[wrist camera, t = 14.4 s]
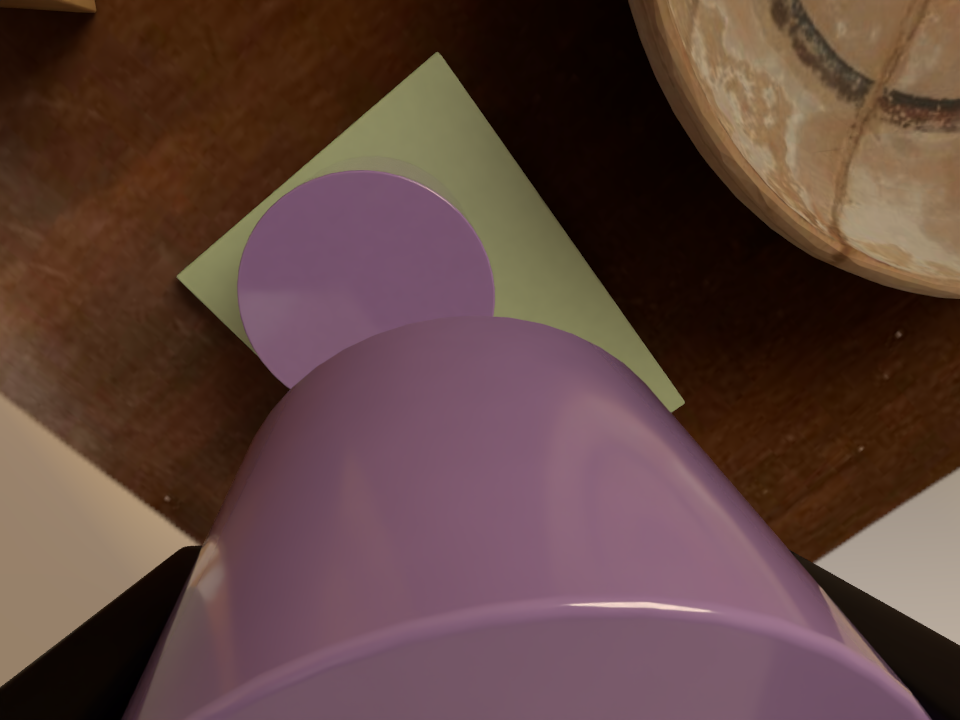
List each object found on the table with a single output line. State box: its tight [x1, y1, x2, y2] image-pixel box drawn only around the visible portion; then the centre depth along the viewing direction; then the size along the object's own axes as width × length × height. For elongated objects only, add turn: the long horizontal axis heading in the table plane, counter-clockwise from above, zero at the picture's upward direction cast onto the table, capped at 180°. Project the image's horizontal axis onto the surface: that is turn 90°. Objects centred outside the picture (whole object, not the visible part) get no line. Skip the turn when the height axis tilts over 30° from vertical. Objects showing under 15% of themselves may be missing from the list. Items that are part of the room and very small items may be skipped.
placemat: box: [177, 52, 685, 413], centre depth 20 cm, size 14×10×1 cm
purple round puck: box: [237, 156, 495, 389], centre depth 16 cm, size 6×6×4 cm
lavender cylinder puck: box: [121, 315, 932, 720], centre depth 6 cm, size 6×6×4 cm
